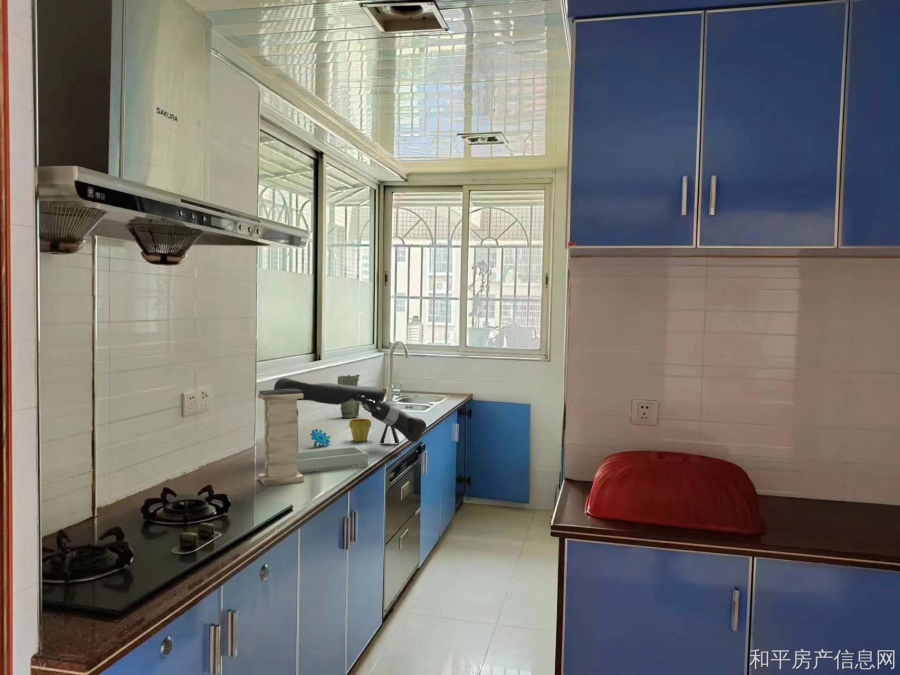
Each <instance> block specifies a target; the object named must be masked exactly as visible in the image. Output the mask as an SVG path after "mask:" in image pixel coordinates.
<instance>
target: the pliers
mask: <svg viewBox="0 0 900 675" xmlns="http://www.w3.org/2000/svg"><path fill="white" fill-rule="evenodd" d="M388 427H390V430H391V432H392V433H391V434H392V437H393V441H395V443H399V444H400V439H399V436H398V433H397V431H396V429H395V428H393V427H392V426H390V425H387V424H385V427H384V429H383V433H382V434H381V439H380V441H379V444H380V443H384V441H385V439H386V435H387V432H388Z"/></svg>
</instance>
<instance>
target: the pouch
mask: <svg viewBox="0 0 900 675" xmlns="http://www.w3.org/2000/svg"><path fill="white" fill-rule="evenodd" d="M360 376H361V375H360V374H355V375H350V374H348V375H339V376H337V384H341V385H348V386H359V384H358V382H359V378H360ZM359 402H360V401H359ZM360 406H361V405H360V404H359V403H357V402H355V400H353V399H351V400H349V401H347V402H345V403H343V404H340V408H339V409H340V412H341V413H340V414H341V418H342V419H355V418H357V417H359V415H360V414H359V411H360Z"/></svg>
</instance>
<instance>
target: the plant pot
mask: <svg viewBox="0 0 900 675" xmlns="http://www.w3.org/2000/svg"><path fill="white" fill-rule="evenodd" d="M348 425H349V428H350V430H351V436H352V441H353V440H354V442H357V441H362V442H366V441H367V440H368V436H369V434H370V433H369V432H370V428H371V427H372V419H370V418H350V420H349V424H348ZM365 440H366V441H365Z"/></svg>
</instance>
